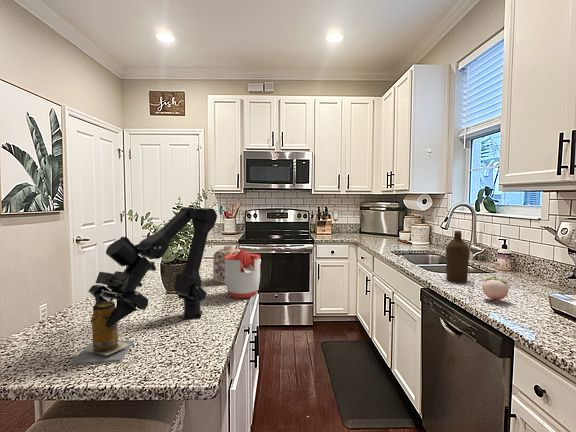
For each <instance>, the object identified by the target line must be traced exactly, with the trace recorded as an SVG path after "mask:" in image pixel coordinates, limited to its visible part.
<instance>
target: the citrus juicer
mask: <svg viewBox="0 0 576 432" xmlns="http://www.w3.org/2000/svg"><path fill="white" fill-rule="evenodd" d="M224 258H225V282H226V284H225V286H226V290H227V293H228V295H229V296H230V297H232V298H235V299H245V298H246V299H247V298H253V297H255V296H256V295H257V293H258V291H259V287H260V281H261V254H257V253H248V252H247V251H246V250H245V249H244V248H242V249H240V251H239V252H238V254H231V255H226V256H224Z"/></svg>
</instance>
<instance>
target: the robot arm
mask: <svg viewBox="0 0 576 432" xmlns="http://www.w3.org/2000/svg"><path fill="white" fill-rule="evenodd" d="M217 219H218V213H217V212H216V210H215V209H214V208H210V207H209V208H206V207H205V208H204V207H203V208H200V207H198V208H196V207H195V208H194V207H190V206H187V207H186V206H185V207H184V206H183V207H181V208H180V209H179V211H178V212H177V213H176V214H175V215H174V216H173V217H172V218H171V219H170V220H169V221H167V223H166V224H165V225H164V226H162V228H161V229H160V230H158V231H157V232H155V233H153V234H150V235H148V236H146V237H145V238H144V239H142V240H140V242H139V243H137V244H135V245H134V243H133V242H132V241H131V240H130V239H129V238H128V237H127V236H121V237H120V238H119V239H117V240H115V241H114V242H112V243H111V244H109V245H108V246H107V249H106V250H105V254H106V255H107V256H108V257H109V258H111V260H112V261H114V262H115V263H116V264H118V265H119V267H125V266H126V267H125V269H124V270H123V271H119V270H117V271H114V273H110V272H104V271H99V272H98V275H97V277H96V280H95V284H93V285H91V287H90V288H89V290H88V291H87V292H88V293H90V295H92V296H93V297H94V298H95V299H94V300H95V304H97V303H101V302H113V301H114V300H116V304H115V309H114V311H113V313H112V315H111V316H110V318H109V320H108V322H107V324H106V327H108V328H109V327H111V326H112V325H114V324H115V323H117V324H118V323H119V322H120V321H121V320H123V319H124V318H125V317H127V316H129V315H130V314H133V312H137V311H138V309H139V310H142V311H146V309H147V307H148V305H149V299H148V298H147V297H146V296H145V295H143V294H142V293H140V291H136V290H137V288H141V287H142V286H143V283H142V280H143V279H144V277H145V276H146V274H147V273H148V271H153V272H155V271H157V269H156V264H155V261H150V260H149V259H154V260H158V259H161V258H162V257H163V256H164V255H165V253H166V252H167V251H168V249H169V246H170V243H171V241H172V240H173V239H174V238H175V237H176V236H177V235H178V234H179V233H180V231H182V230H183V228H184V227H185V226H187V225H188V223H189V222H191V221H192V227H193V230H194V231H193V235H192V238H191V244H190V247H189V251H188V255H187V259H186V264H185V268H184V270H183V271H182V272H181V273H179V272H178V273H177V274H176V278H175V281H174V284H173V285H174V290H175V293H176V294H177V296H178V299H183V313H182V316H181V319H182V320H184V319H185V320H186V319H200V318H202V315H203V311H204V310H202V309H201V307H202V306H201V302H202V301H203V300H205V299H206V298H207V292H206V291H205V290H204V289H203V287H201V285H202V278H201V275H200V270H201V269H200V268H201V264H202V261H203V256H204V252H205V246H206V244H207V240H208V235H209V232H211V230H212V229H213V228H214V227H215V225H216V222H217ZM101 284H102V285H101ZM93 314H94V313H93V312H92V315H91V319H90V322H89V323H91V324H92V316H93Z"/></svg>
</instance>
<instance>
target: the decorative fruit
mask: <svg viewBox="0 0 576 432" xmlns="http://www.w3.org/2000/svg"><path fill="white" fill-rule="evenodd" d="M482 281H483V283H482V286H481V287H482V288H481V289H482V292H483V293H484V295H485V296H486V297H487V298H489V299H490V300H492V301H494V302H496V301H499V300H503V299H504V298H506V297H507V295H508V294H509V285H510V283H509V282H508V281H507V280H506V279H500V278H498V279H497V276H494V278H493V277H486V278H482Z"/></svg>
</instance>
